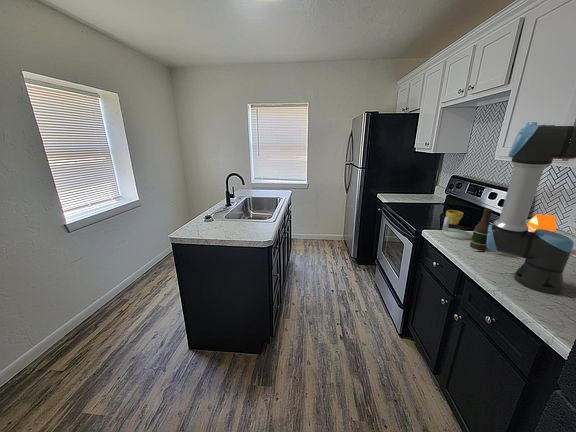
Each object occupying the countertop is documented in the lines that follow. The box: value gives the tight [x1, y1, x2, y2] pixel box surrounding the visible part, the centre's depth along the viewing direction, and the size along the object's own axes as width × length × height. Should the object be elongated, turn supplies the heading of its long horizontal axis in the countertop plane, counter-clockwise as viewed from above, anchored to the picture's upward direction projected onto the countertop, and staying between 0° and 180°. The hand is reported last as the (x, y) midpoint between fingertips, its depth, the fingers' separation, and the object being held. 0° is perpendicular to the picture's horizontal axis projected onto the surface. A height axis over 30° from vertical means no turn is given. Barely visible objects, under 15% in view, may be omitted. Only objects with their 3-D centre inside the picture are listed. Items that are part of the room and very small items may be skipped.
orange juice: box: [526, 213, 557, 232], centre depth 140 cm, size 8×9×20 cm
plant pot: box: [445, 209, 464, 226], centre depth 178 cm, size 10×10×10 cm
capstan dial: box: [441, 216, 473, 241], centre depth 155 cm, size 16×16×11 cm
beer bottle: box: [469, 208, 493, 253], centre depth 135 cm, size 8×8×24 cm
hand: (514, 196), depth 138 cm, fingers closed
